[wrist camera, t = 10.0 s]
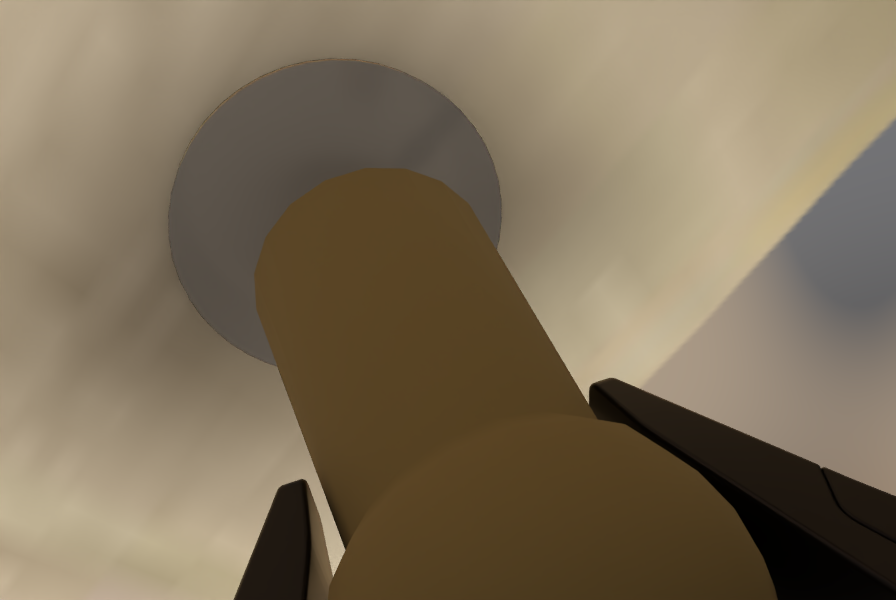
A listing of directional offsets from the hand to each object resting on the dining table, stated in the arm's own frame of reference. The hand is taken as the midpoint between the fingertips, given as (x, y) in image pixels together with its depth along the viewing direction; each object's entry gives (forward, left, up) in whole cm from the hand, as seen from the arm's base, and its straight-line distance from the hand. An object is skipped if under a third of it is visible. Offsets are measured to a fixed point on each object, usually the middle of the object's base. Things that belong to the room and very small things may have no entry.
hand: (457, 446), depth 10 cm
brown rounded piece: (0, 0, -6) cm, 6 cm away
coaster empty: (0, 0, -10) cm, 10 cm away
